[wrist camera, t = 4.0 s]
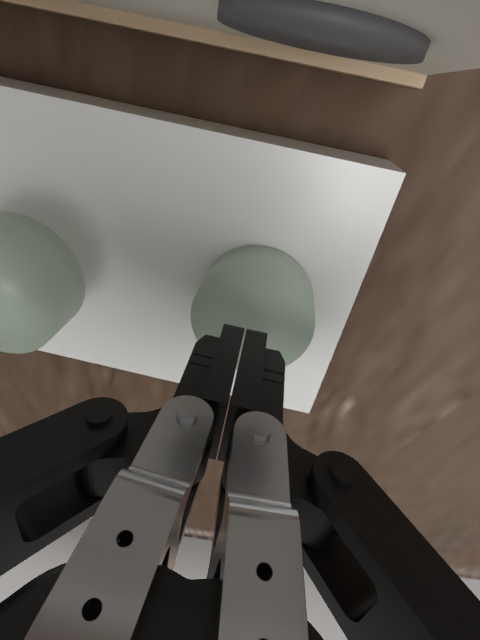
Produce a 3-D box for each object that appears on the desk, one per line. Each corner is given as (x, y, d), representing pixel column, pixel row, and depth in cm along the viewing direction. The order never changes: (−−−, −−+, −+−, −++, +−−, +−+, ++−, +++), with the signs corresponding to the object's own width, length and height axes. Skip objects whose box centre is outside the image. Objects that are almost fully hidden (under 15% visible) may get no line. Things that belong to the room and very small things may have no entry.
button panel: (-113, 278, 22) (-166, 302, 20) (-210, 30, 16) (-307, 18, 13) (308, 375, 22) (309, 413, 19) (388, 159, 15) (406, 173, 13)
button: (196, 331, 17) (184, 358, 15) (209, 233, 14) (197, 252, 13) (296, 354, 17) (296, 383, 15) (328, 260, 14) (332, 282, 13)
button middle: (-21, 310, 16) (-60, 337, 14) (-49, 197, 13) (-101, 213, 11) (88, 336, 15) (62, 365, 14) (81, 227, 13) (48, 247, 11)
